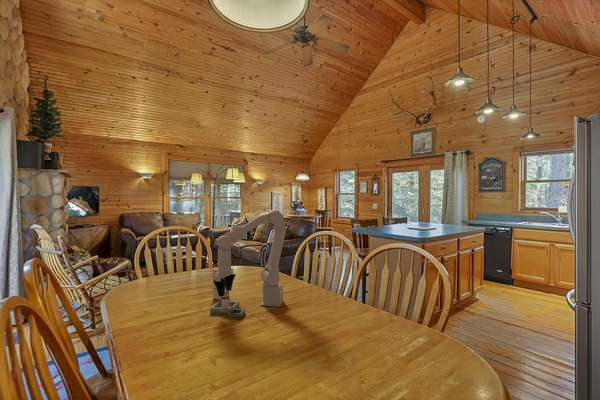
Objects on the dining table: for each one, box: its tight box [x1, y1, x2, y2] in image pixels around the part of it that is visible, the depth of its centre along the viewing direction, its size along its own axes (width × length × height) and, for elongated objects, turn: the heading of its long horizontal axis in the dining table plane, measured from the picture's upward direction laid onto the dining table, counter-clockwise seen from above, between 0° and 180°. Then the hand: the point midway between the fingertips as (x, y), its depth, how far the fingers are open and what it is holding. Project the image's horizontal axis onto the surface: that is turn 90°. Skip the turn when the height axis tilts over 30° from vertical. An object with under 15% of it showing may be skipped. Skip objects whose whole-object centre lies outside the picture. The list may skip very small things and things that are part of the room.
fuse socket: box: [227, 308, 246, 320], centre depth 130 cm, size 6×6×2 cm
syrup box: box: [212, 267, 230, 301], centre depth 154 cm, size 6×6×14 cm
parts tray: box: [209, 299, 240, 316], centre depth 137 cm, size 10×10×2 cm
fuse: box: [221, 291, 230, 308], centre depth 137 cm, size 3×3×7 cm
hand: (225, 293), depth 137 cm, fingers open, 7 cm apart
